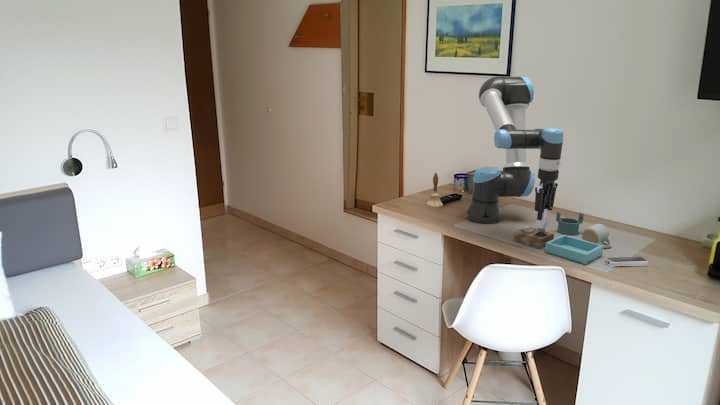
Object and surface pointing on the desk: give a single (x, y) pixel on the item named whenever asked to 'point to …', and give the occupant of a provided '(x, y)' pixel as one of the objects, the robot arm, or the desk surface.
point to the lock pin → (542, 230)
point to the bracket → (569, 224)
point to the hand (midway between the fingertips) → (541, 226)
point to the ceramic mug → (597, 235)
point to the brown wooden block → (532, 237)
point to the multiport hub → (626, 261)
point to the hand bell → (435, 195)
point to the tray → (574, 249)
